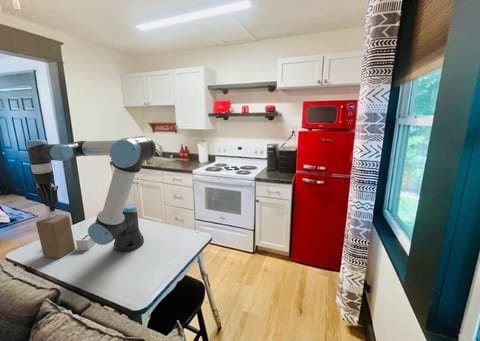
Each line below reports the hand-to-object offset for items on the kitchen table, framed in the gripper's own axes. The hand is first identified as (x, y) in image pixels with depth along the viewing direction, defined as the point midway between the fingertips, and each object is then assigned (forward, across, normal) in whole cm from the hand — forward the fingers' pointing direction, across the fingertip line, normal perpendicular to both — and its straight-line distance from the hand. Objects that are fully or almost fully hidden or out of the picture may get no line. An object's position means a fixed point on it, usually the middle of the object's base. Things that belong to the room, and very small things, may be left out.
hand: (52, 216), depth 117 cm
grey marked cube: (+21, -9, -8) cm, 24 cm away
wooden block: (+21, 0, 0) cm, 21 cm away
